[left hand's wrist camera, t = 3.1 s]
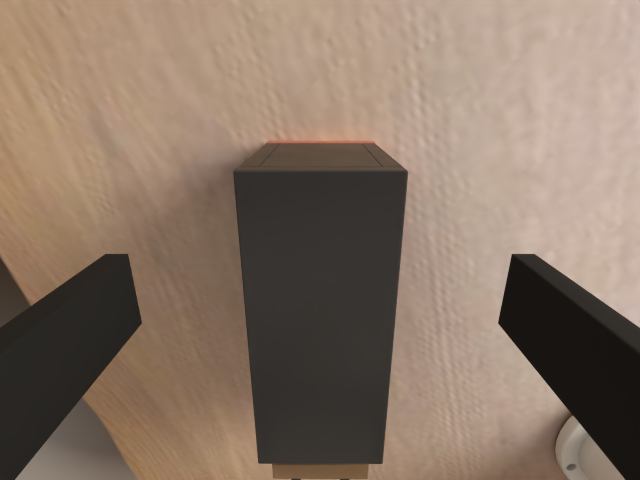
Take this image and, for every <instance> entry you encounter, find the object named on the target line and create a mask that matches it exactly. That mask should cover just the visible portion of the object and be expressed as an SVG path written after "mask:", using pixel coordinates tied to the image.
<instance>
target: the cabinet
mask: <svg viewBox="0 0 640 480" xmlns="http://www.w3.org/2000/svg"><path fill="white" fill-rule="evenodd" d="M233 174H234V186H235V198H236V209H237V221H238V232H239V244H240V256H241V267H242V279H243V290H244V302H245V314H246V325H247V337H248V348H249V360H250V372H251V383H252V395H253V406H254V418H255V430H256V441H257V453H258V463H259V464H382V463H383V452H384V441H385V430H386V418H387V407H388V395H389V384H390V373H391V361H392V350H393V338H394V327H395V316H396V304H397V293H398V281H399V270H400V259H401V247H402V236H403V224H404V213H405V202H406V190H407V179H408V171H407V170H406V169H405V168H403V167H402V166H401V165H400V164H399V163H398V162H396V161H395V160H394V159H393V158H392V157H390V156H389V155H388V154H387V153H386V152H384V151H383V150H382V149H381V148H380V147H378V146H377V145H376V144H375V143H374V142H373V141H269V142H267V144H266V145H265V146H264V147H262V148H261V149H260V150H259V151H258V152H256V153H255V154H254V155H253V156H251V157H250V158H249V159H248V160H247V161H245V162H244V163H243V164H242V165H240V166H239V167H238V168H237V169H235V170H234V171H233Z"/></svg>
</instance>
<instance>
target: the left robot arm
mask: <svg viewBox="0 0 640 480" xmlns="http://www.w3.org/2000/svg"><path fill="white" fill-rule="evenodd" d="M141 324H142V321H141V316H140V311H139V306H138V302H137V297H136V292H135V287H134V282H133V277H132V272H131V267H130V262H129V257H128V254H105V255H104V256H102V257H101V258H99V259H98V260H96V261H95V262H94V263H92V264H91V265H89V266H88V267H86V268H85V269H84V270H82V271H81V272H79V273H78V274H76V275H75V276H74V277H72V278H71V279H69V280H68V281H66V282H65V283H64V284H62V285H61V286H59V287H58V288H56V289H55V290H54V291H52V292H51V293H49V294H48V295H46V296H45V297H44V298H42V299H41V300H39V301H38V302H36V303H35V304H34V305H32V306H31V307H29V308H28V309H27V310H25V311H24V312H22V313H21V314H19V315H18V316H17V317H15V318H14V319H12V320H11V321H9V322H8V323H7V324H5V325H4V326H2V327H1V328H0V480H15V479H16V477H17V476H18V475H19V474H20V473H21V471H22V470H23V469H24V468H25V466H26V465H27V464H28V463H29V462H30V460H31V459H32V458H33V457H34V455H35V454H36V453H37V452H38V450H39V449H40V448H41V447H42V445H43V444H44V443H45V442H46V441H47V439H48V438H49V437H50V436H51V434H52V433H53V432H54V431H55V429H56V428H57V427H58V426H59V425H60V423H61V422H62V421H63V420H64V418H65V417H66V416H67V415H68V413H69V412H70V411H71V410H72V409H73V407H74V406H75V405H76V404H77V402H78V401H79V400H80V399H81V397H82V396H83V395H84V394H85V393H86V391H87V390H88V389H89V388H90V386H91V385H92V384H93V383H94V381H95V380H96V379H97V378H98V377H99V375H100V374H101V373H102V372H103V370H104V369H105V368H106V367H107V365H108V364H109V363H110V362H111V361H112V359H113V358H114V357H115V356H116V354H117V353H118V352H119V351H120V349H121V348H122V347H123V346H124V345H125V343H126V342H127V341H128V340H129V338H130V337H131V336H132V335H133V333H134V332H135V331H136V330H137V329H138V327H139V326H140V325H141ZM498 324H499V325H500V326H501V327H502V329H503V330H504V331H505V332H506V333H507V335H508V336H509V337H510V338H511V340H512V341H513V342H514V343H515V345H516V346H517V347H518V348H519V349H520V351H521V352H522V353H523V354H524V356H525V357H526V358H527V359H528V361H529V362H530V363H531V364H532V365H533V367H534V368H535V369H536V370H537V372H538V373H539V374H540V375H541V377H542V378H543V379H544V380H545V381H546V383H547V384H548V385H549V386H550V388H551V389H552V390H553V391H554V393H555V394H556V395H557V396H558V397H559V399H560V400H561V401H562V402H563V404H564V405H565V406H566V407H567V409H568V410H569V411H570V412H571V413H572V415H573V416H574V417H575V418H576V420H577V421H578V422H579V423H580V425H581V426H582V427H583V428H584V429H585V431H586V432H587V433H588V434H589V436H590V437H591V438H592V439H593V441H594V442H595V443H596V444H597V446H598V447H599V448H600V449H601V450H602V452H603V453H604V454H605V455H606V457H607V458H608V459H609V460H610V462H611V463H612V464H613V465H614V466H615V468H616V469H617V470H618V471H619V473H620V474H621V475H622V476H623V478H624V479H625V480H640V328H639V327H638V326H636V325H635V324H633V323H632V322H631V321H629V320H628V319H626V318H625V317H623V316H622V315H621V314H619V313H618V312H616V311H615V310H613V309H612V308H611V307H609V306H608V305H606V304H605V303H604V302H602V301H601V300H599V299H598V298H596V297H595V296H594V295H592V294H591V293H589V292H588V291H586V290H585V289H584V288H582V287H581V286H579V285H578V284H576V283H575V282H574V281H572V280H571V279H569V278H568V277H566V276H565V275H564V274H562V273H561V272H559V271H558V270H556V269H555V268H554V267H552V266H551V265H549V264H548V263H546V262H545V261H544V260H542V259H541V258H539V257H538V256H536V255H535V254H512V257H511V262H510V267H509V272H508V277H507V282H506V287H505V292H504V297H503V301H502V306H501V311H500V316H499V321H498Z"/></svg>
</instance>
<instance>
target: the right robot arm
mask: <svg viewBox="0 0 640 480" xmlns="http://www.w3.org/2000/svg"><path fill="white" fill-rule="evenodd" d="M555 454H556V460H557V462H558V464H559V466H560V468H561V469H562V471H563V472H564V474H565V475H566V477H567V478H568V479H569V480H625V479H624V478H623V476H622V475H621V474H620V473H619V471H618V470H617V469H616V468H615V466H614V465H613V464H612V463H611V462H610V460H609V459H608V458H607V457H606V455H605V454H604V453H603V452H602V450H601V449H600V448H599V447H598V446H597V444H596V443H595V442H594V441H593V439H592V438H591V437H590V436H589V434H588V433H587V432H586V431H585V429H584V428H583V427H582V426H581V425H580V423H579V422H578V421H577V420H576V418H575V417H574V416H573V415H572V416H571V417H570V418H569V419H568V420H567V422H566V423H565V425H564V426H563V428H562V429H561V431H560V433H559V435H558V438H557V440H556V447H555Z"/></svg>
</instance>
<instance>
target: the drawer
mask: <svg viewBox="0 0 640 480" xmlns="http://www.w3.org/2000/svg"><path fill="white" fill-rule="evenodd" d="M272 467H273V478H274V479H292V480H301V479H340V480H349V479H367V478H368V467H369V464H272Z"/></svg>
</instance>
